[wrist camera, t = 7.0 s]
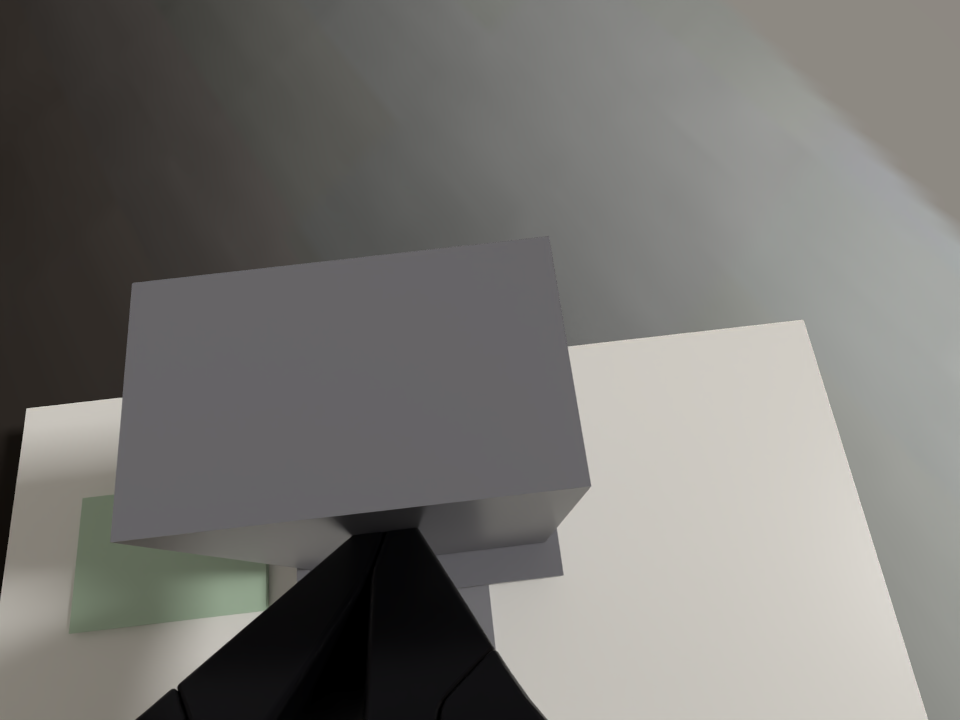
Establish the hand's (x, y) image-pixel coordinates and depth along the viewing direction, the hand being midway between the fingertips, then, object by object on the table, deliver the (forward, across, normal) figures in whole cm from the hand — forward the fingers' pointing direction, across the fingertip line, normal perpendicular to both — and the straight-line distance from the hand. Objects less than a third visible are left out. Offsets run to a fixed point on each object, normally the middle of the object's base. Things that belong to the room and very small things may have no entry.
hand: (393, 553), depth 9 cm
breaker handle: (+6, 0, -3) cm, 6 cm away
